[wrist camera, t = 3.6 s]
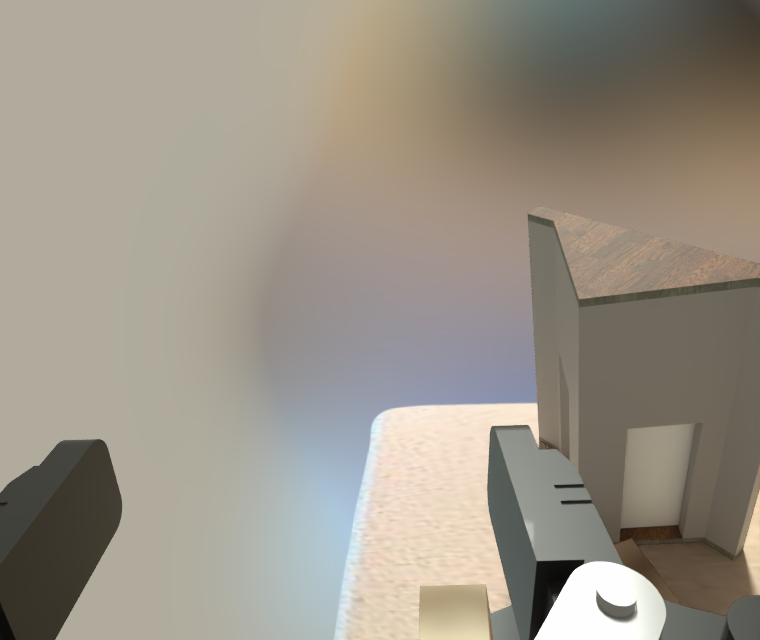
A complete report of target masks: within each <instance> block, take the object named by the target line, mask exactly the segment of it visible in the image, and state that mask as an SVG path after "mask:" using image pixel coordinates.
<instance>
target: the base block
mask: <svg viewBox="0 0 760 640" xmlns="http://www.w3.org/2000/svg"><path fill="white" fill-rule="evenodd" d="M614 547H615V549H616V551H617V553H618V555H619V557H620V559H621V561H622V563H623V565H624V566H625V567H628V568H630V569H632V570H634V571H636V572H638V573H639V574H641V575H642V576H644V577H645V578H646V579H647V580H648V581H650V582H651V583H652V584H653V585H654V587H655V588H656V589H657V590H658V592H659V593H660V595H661V597H662V599H664V600H667V601H669V602H672V603H675V604H678V605H681V603H680V602H679V601H678V599H677V598H676V597H675V595H674V594H673V593H672V591H671V590H670V589H669V587H668V586H667V585H666V583H665V582H664V581H663V579H662V578H661V577H660V575H659V574H658V573H657V571H656V570H655V569H654V567H653V566H652V565H651V563H650V562H649V561H648V560H647V558H646V557H645V556H644V554H643V553H642V552H641V550H640V549H639V548H638V546H637V545H636V544H635V542H634V541H633V540H632V538H631V539H629V540H626V541H623V542H621V543H618V544H616V545H614ZM681 606H682V605H681Z"/></svg>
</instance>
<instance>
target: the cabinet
mask: <svg viewBox="0 0 760 640" xmlns="http://www.w3.org/2000/svg"><path fill="white" fill-rule="evenodd" d="M528 226H529V247H530V266H531V286H532V304H533V305H532V306H533V325H534V345H535V364H536V384H537V403H538V423H539V440H540V441H541V442H543V443H545V444H546V445H548V446H549V447H551V448H553V449H557V450H558V451H559V452H560V453H562V454H563V455H564V456H565V457H566V458H567V459H568V460H570V461H571V462H572V463H573V464H574V465H575V467H576V469H577V471H578V473H579V475H580V477H581V479H582V481H583V483H584V488H586V489H587V491H588V493H589V495H590V497H591V499H592V504H594V506H595V508H596V510H597V512H598V514H599V516H600V518H601V520H602V522H603V524H604V526H605V528H606V530H607V532H608V534H609V536H610V538H611V541H612V543H613V545H616V544H618V543H621V542H623V541H626V540H629V539H631V538H632V540H633V541H634V542H635V544H636V545H649V544H668V543H687V542H705V543H706V544H708V545H710V546H711V547H713V548H714V549H716V550H718V551H719V552H721V553H723V554H724V555H726V556H727V557H729V558H731V559H732V560H735V558H736V557H737V556H738V554H739V553H740V552H741V551H742V549H743V547H744V543H745V540H746V536H747V532H748V529H749V525H750V522H751V518H752V514H753V511H754V507H755V504H756V500H757V496H758V493H759V489H760V264H759V263H755V262H751V261H747V260H744V259H739V258H736V257H732V256H728V255H724V254H720V253H717V252H713V251H709V250H705V249H701V248H698V247H694V246H690V245H686V244H682V243H678V242H675V241H671V240H667V239H663V238H659V237H656V236H652V235H648V234H644V233H640V232H636V231H633V230H629V229H625V228H621V227H617V226H613V225H610V224H606V223H602V222H598V221H594V220H590V219H587V218H583V217H579V216H575V215H571V214H567V213H564V212H560V211H556V210H552V209H548V208H545V207H541V206H540V207H538V208H536V209H535V210H533V211H531V212H530V213H528Z"/></svg>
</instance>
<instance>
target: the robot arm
mask: <svg viewBox="0 0 760 640" xmlns="http://www.w3.org/2000/svg"><path fill="white" fill-rule="evenodd" d="M487 491H488V505H489V513H490V518H491V522H492V526H493V530H494V534H495V538H496V542H497V546H498V550H499V555H500V559H501V563H502V567H503V571H504V575H505V579H506V583H507V587H508V591H509V595H510V599H511V603H512V608H513V612H514V616H515V620H516V624H517V628H518V632H519V636H520V640H760V596H759V595H757V596H747V597H743V598H741V599H738V600H737V601H735V602H734V603H733V604H732V605H731V607H730V608H729V611H728V615H727V616H723V615H719V614H714V613H710V612H706V611H702V610H698V609H694V608H690V607H685V606H681V605H678V604H675V603H672V602H669V601H667V600H664V599H662V597H661V595H660V593H659V592H658V590H657V589H656V588H655V587H654V585H653V584H652V583H651V582H650V581H648V580H647V579H646V578H645V577H644V576H642V575H641V574H639V573H638V572H636V571H634V570H632V569H630V568H628V567H625V566H624V565H623V563H622V561H621V559H620V557H619V555H618V553H617V551H616V549H615V547H614V545H613V543H612V541H611V538H610V536H609V534H608V532H607V530H606V528H605V526H604V524H603V522H602V520H601V518H600V516H599V514H598V512H597V510H596V508H595V506H594V504H592V499H591V497H590V495H589V493H588V491H587V489H586V488H584V483H583V481H582V479H581V477H580V475H579V473H578V471H577V469H576V467H575V465H574V464H573V463H572V462H571V461H570V460H568V459H567V458H566V457H565V456H564V455H563V454H562V453H560V452H559V451H558V450H557V449H540V450H539V448H538V446H537V443H536V441H535V439H534V436H533V434H532V431H531V429H530V427H529V426H528V425H514V426H492V427H491V431H490V445H489V465H488V486H487ZM121 514H122V499H121V495H120V491H119V487H118V484H117V480H116V476H115V473H114V470H113V465H112V462H111V458H110V455H109V451H108V448H107V445H106V444H105V442H104V441H103V440H100V439H96V440H64V441H61V442H60V443H58V444H57V445H56V447H55V448H54V449H53V450H52V451H51V452H50V454H49V455H48V456H47V457H46V459H45V460H44V461H43V462H42V463H41V464H40V466H33V467H32V468H31V469H29V470H28V471H26V472H25V473H23V474H22V475H20V476H19V477H17V478H16V479H14V480H13V481H11V482H10V483H9V484H8V485H7V486H6V487H5V488H4V490H3V491H2V492H1V493H0V640H55V639H56V637H57V635H58V634H59V632H60V630H61V628H62V626H63V625H64V623H65V621H66V619H67V618H68V616H69V614H70V612H71V610H72V608H73V607H74V605H75V603H76V602H77V600H78V598H79V596H80V594H81V593H82V591H83V589H84V587H85V585H86V584H87V582H88V580H89V578H90V576H91V575H92V573H93V571H94V570H95V568H96V566H97V564H98V562H99V561H100V559H101V557H102V555H103V554H104V552H105V550H106V548H107V546H108V545H109V543H110V541H111V539H112V538H113V536H114V534H115V532H116V530H117V528H118V526H119V523H120V519H121Z"/></svg>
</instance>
